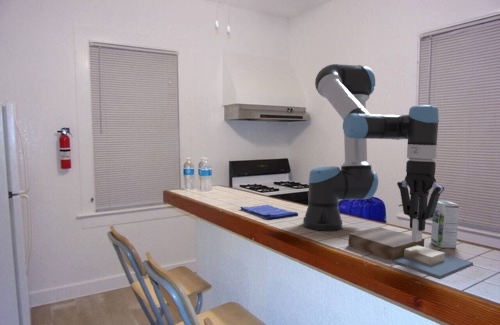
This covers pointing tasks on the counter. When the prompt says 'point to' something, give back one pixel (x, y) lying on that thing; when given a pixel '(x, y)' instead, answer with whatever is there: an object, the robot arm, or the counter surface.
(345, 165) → the robot arm
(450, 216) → the syrup box
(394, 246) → the plate
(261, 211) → the dish towel
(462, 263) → the slate mat
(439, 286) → the counter surface
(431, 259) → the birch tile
